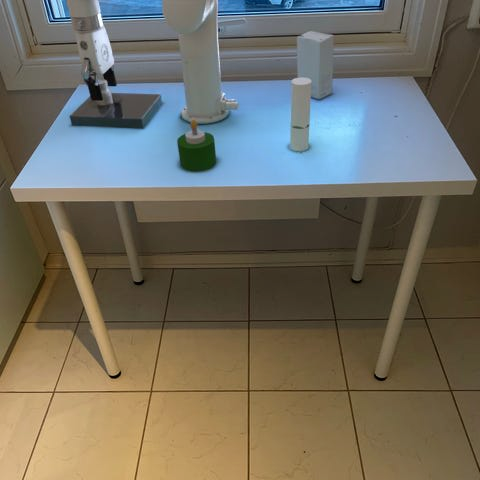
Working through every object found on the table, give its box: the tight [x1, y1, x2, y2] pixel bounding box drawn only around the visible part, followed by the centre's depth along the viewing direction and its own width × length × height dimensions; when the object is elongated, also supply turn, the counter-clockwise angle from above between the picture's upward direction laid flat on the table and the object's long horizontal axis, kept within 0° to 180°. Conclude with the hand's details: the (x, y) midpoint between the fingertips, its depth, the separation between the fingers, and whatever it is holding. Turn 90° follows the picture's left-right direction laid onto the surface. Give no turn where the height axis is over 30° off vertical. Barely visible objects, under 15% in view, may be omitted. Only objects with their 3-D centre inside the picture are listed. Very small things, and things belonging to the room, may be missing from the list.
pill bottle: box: [96, 78, 113, 105], centre depth 141 cm, size 4×4×8 cm
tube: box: [289, 77, 312, 152], centre depth 117 cm, size 4×4×15 cm
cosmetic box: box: [296, 30, 335, 100], centre depth 139 cm, size 8×6×15 cm
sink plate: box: [69, 92, 163, 129], centre depth 140 cm, size 20×16×2 cm
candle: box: [176, 120, 217, 172], centre depth 116 cm, size 8×8×10 cm
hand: (104, 92), depth 140 cm, fingers open, 9 cm apart
